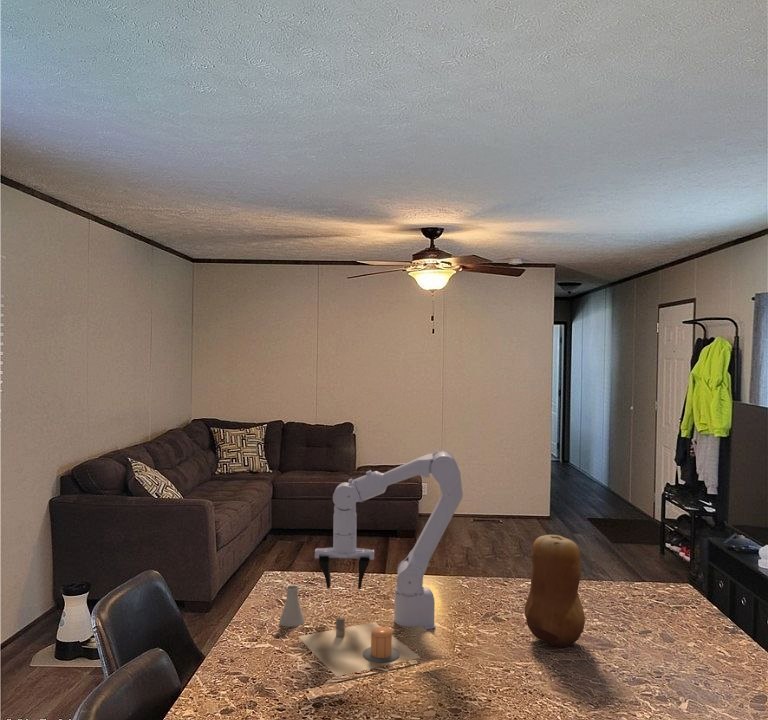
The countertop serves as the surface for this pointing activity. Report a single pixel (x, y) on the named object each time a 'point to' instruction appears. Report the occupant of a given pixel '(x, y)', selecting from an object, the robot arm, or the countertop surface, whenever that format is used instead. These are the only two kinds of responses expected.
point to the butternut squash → (555, 591)
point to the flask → (292, 609)
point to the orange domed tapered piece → (381, 642)
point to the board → (353, 649)
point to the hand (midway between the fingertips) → (344, 587)
